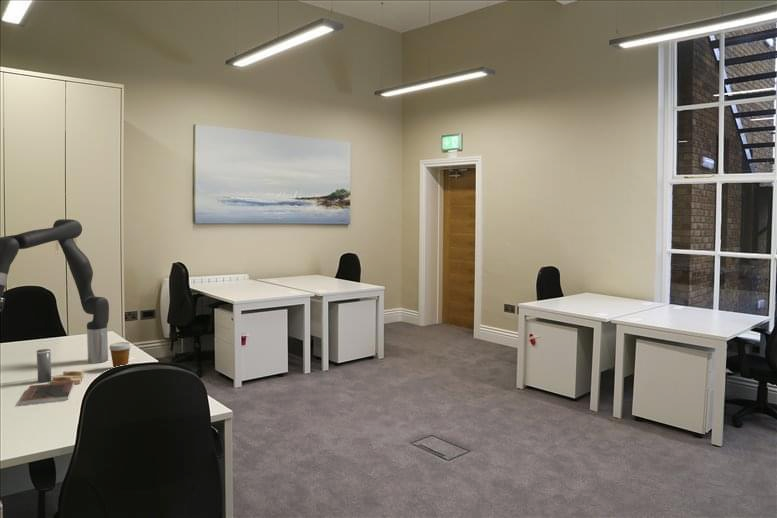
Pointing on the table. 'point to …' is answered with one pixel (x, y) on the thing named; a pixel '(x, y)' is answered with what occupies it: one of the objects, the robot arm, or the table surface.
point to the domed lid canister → (44, 365)
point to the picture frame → (47, 393)
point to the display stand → (69, 377)
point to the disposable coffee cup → (120, 353)
